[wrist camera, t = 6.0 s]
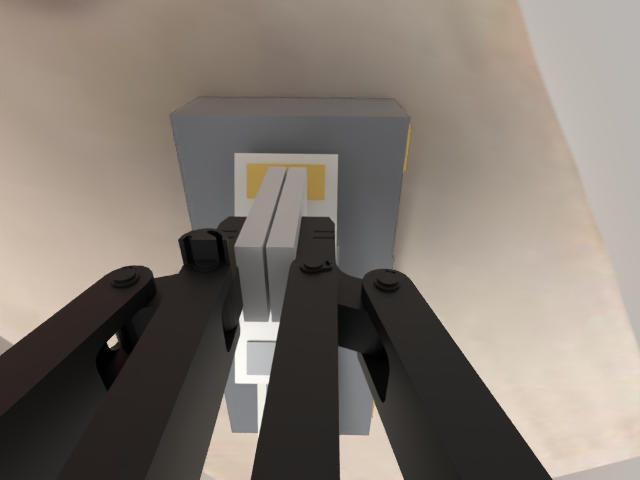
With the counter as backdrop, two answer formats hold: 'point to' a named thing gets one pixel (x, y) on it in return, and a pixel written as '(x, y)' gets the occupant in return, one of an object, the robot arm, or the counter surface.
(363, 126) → the switch unit
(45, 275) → the counter surface
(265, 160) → the rocker
